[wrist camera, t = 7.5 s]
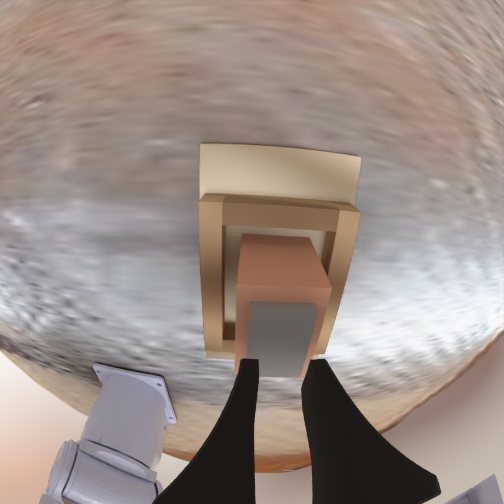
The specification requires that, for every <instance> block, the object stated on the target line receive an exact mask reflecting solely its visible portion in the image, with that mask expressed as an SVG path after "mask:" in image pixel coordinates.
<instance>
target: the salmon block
mask: <svg viewBox="0 0 504 504" xmlns="http://www.w3.org/2000/svg"><path fill="white" fill-rule="evenodd" d="M331 291H332V286H331V284H330V282H329V279H328V277H327V275H326V273H325V270H324V268H323V266H322V264H321V261H320V259H319V257H318V255H317V253H316V250H315V248H314V246H313V244H312V242H311V240H310V237H298V236H282V235H264V234H246V233H242V239H241V248H240V258H239V267H238V276H237V288H236V326H235V376H237V374H238V370H239V365H240V360H241V359H243V358H247V359H259V377H305V375H306V372H307V369H308V365H309V362H310V359H313V357H314V354H315V350H316V347H317V343H318V340H319V336H320V333H321V329H322V326H323V322H324V318H325V315H326V311H327V307H328V303H329V299H330V295H331Z"/></svg>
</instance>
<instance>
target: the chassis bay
mask: <svg viewBox="0 0 504 504" xmlns="http://www.w3.org/2000/svg"><path fill="white" fill-rule="evenodd" d="M360 165H361V157H359V156H354V155H348V154H341V153H334V152H327V151H319V150H311V149H302V148H292V147H280V146H267V145H250V144H223V143H201V144H200V200H199V247H200V274H201V294H202V311H203V326H204V339H205V351H206V355H207V358H217V359H231V360H235V326H236V288H237V276H238V267H239V258H240V248H241V239H242V233H246V234H264V235H282V236H298V237H310V240H311V242H312V244H313V246H314V248H315V250H316V253H317V255H318V257H319V259H320V261H321V264H322V266H323V268H324V270H325V273H326V275H327V277H328V279H329V282H330V284H331V286H332V291H331V295H330V299H329V303H328V307H327V311H326V315H325V318H324V322H323V326H322V329H321V333H320V336H319V340H318V343H317V347H316V350H315V354H314V357H313V359H317V358H318V354H325V351H326V348H327V345H328V342H329V339H330V335H331V332H332V329H333V326H334V322H335V319H336V316H337V312H338V309H339V305H340V301H341V298H342V294H343V290H344V286H345V283H346V279H347V275H348V271H349V266H350V262H351V258H352V253H353V249H354V244H355V240H356V235H357V230H358V225H359V220H360V214H361V212H360V211H359V210H357V209H356V208H355V207H354V205H355V199H356V193H357V186H358V179H359V172H360Z"/></svg>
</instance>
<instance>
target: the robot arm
mask: <svg viewBox="0 0 504 504" xmlns="http://www.w3.org/2000/svg"><path fill="white" fill-rule="evenodd" d="M93 368H94V370H95V372H96V374H97V376H98V378H99V380H100V382H101V384H102V387H101V389H100V391H99V393H98V396H97V398H96V400H95V403H94V405H93V407H92V410H91V412H90V414H89V417H88V419H87V422H86V424H85V427H84V429H83V432H82V434H81V437H80V440H79V441H77V442H75V441H73V440H69V441H65V442H64V443H63V444H62V446H61V448H60V450H59V452H58V454H57V456H56V459H55V461H54V464H53V467H52V469H51V473H50V477H49V481H48V486H47V489H46V494H42V496H41V499H40V502H39V504H256V503H255V465H254V421H255V411H256V402H257V393H258V384H259V359H247V358H243V359H241V360H240V365H239V370H238V374H237V377H236V380H235V383H234V386H233V389H232V391H231V394H230V396H229V398H228V401H227V403H226V405H225V407H224V409H223V411H222V413H221V415H220V417H219V419H218V421H217V423H216V424H215V426H214V428H213V430H212V431H211V433H210V435H209V436H208V438H207V439H206V441H205V442H204V444H203V445H202V447H201V448H200V449H199V451H198V452H197V454H196V455H195V456H194V458H193V459H192V460H191V461H190V463H189V464H188V465H187V466H186V467H185V468H184V470H183V471H182V472H181V473H180V474H179V475H178V477H177V478H176V479H175V480H174V481H173V482H172V483H171V484H170V485H169V486H168V487H167V488H166V489H165V490H163V487H162V485H161V483H160V482H159V481H158V480H156V475H157V473H156V472H155V471H152V470H153V469H155V468H156V466H157V465H158V464H159V462H160V459H161V454H162V450H163V445H164V440H165V436H166V431H167V427H168V423H177V419H176V416H175V413H174V410H173V407H172V404H171V401H170V398H169V395H168V391H167V388H166V385H165V382H164V379H163V378H162V377H160V376H155V375H149V374H144V373H138V372H133V371H128V370H123V369H119V368H114V367H110V366H106V365H101V364H97V363H95V364H94V365H93ZM301 393H302V409H303V415H304V421H305V426H306V431H307V437H308V442H309V448H310V454H311V462H312V487H313V488H312V490H313V500H312V501H313V502H312V504H422V503H424V502H427V501H429V500H431V499H432V498H435V497H436V496H438V495H440V494H441V489H440V486H439V482H438V479H437V477H436V475H434V474H432V473H430V472H429V471H427V470H425V469H423V468H422V467H420V466H419V465H417V464H416V463H414V462H413V461H411V460H410V459H408V458H407V457H406V456H405V455H403V454H402V453H401V452H400V451H398V450H397V449H396V448H395V447H393V446H392V445H391V444H390V443H389V442H388V441H387V440H386V439H385V438H384V437H382V435H381V434H380V433H379V432H378V431H377V430H376V429H375V428H374V427H373V426H372V425H371V424H370V423H369V421H368V420H367V419H366V418H365V417H364V415H363V414H362V413H361V412H360V410H359V409H358V408H357V407H356V405H355V404H354V402H353V401H352V400H351V398H350V397H349V395H348V394H347V393H346V391H345V390H344V388H343V387H342V385H341V384H340V382H339V380H338V379H337V377H336V376H335V374H334V372H333V371H332V369H331V367H330V366H329V364H328V362H327V361H326V360H325V359H310V362H309V365H308V369H307V372H306V375H305V378H304V381H303V385H302V388H301ZM445 504H503V500H502V497H501V493H500V490H499V486H498V483H497V480H496V477H495V475H494V474H493V475H491V476H490V477H488V478H487V479H485V480H484V481H482V482H481V483H479V484H478V485H476V486H474V487H473V488H470V489H468V490H467V491H465V492H463V493H462V494H460V495H458V496H456V497H455V498H453V499H451V500H449V502H447V503H445Z"/></svg>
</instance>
